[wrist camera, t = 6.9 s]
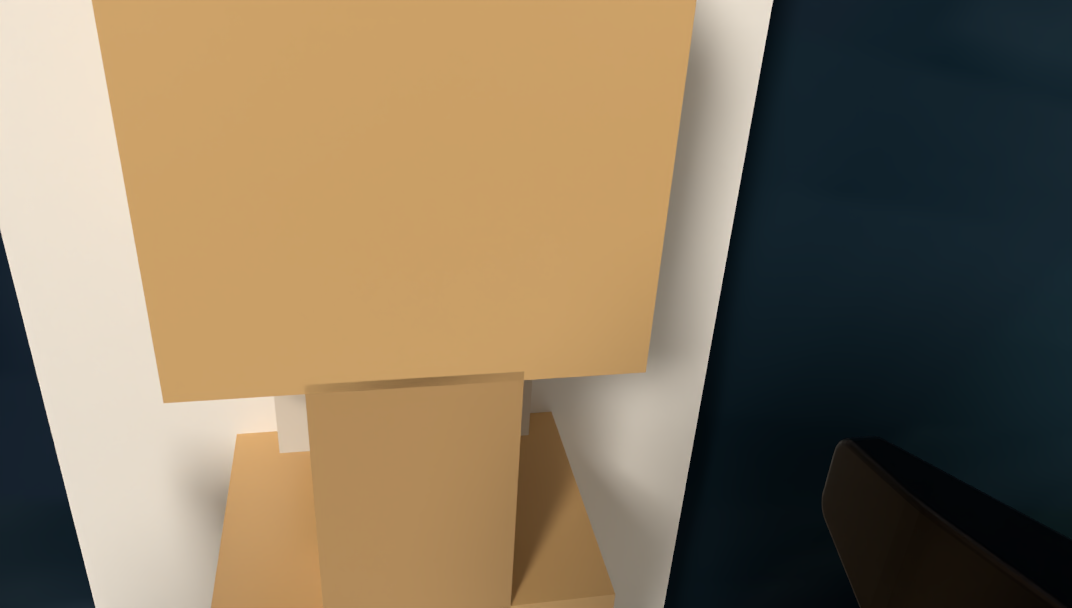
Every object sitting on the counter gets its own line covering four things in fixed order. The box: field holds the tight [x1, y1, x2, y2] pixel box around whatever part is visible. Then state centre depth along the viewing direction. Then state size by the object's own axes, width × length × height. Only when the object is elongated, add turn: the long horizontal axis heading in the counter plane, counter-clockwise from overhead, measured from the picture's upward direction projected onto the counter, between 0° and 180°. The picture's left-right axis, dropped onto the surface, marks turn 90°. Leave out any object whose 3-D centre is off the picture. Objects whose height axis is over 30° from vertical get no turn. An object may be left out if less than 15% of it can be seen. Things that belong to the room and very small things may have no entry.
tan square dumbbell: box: [92, 0, 697, 608], centre depth 11 cm, size 4×12×4 cm, turn 177°
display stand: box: [0, 0, 773, 608], centre depth 12 cm, size 9×16×4 cm, turn 176°
